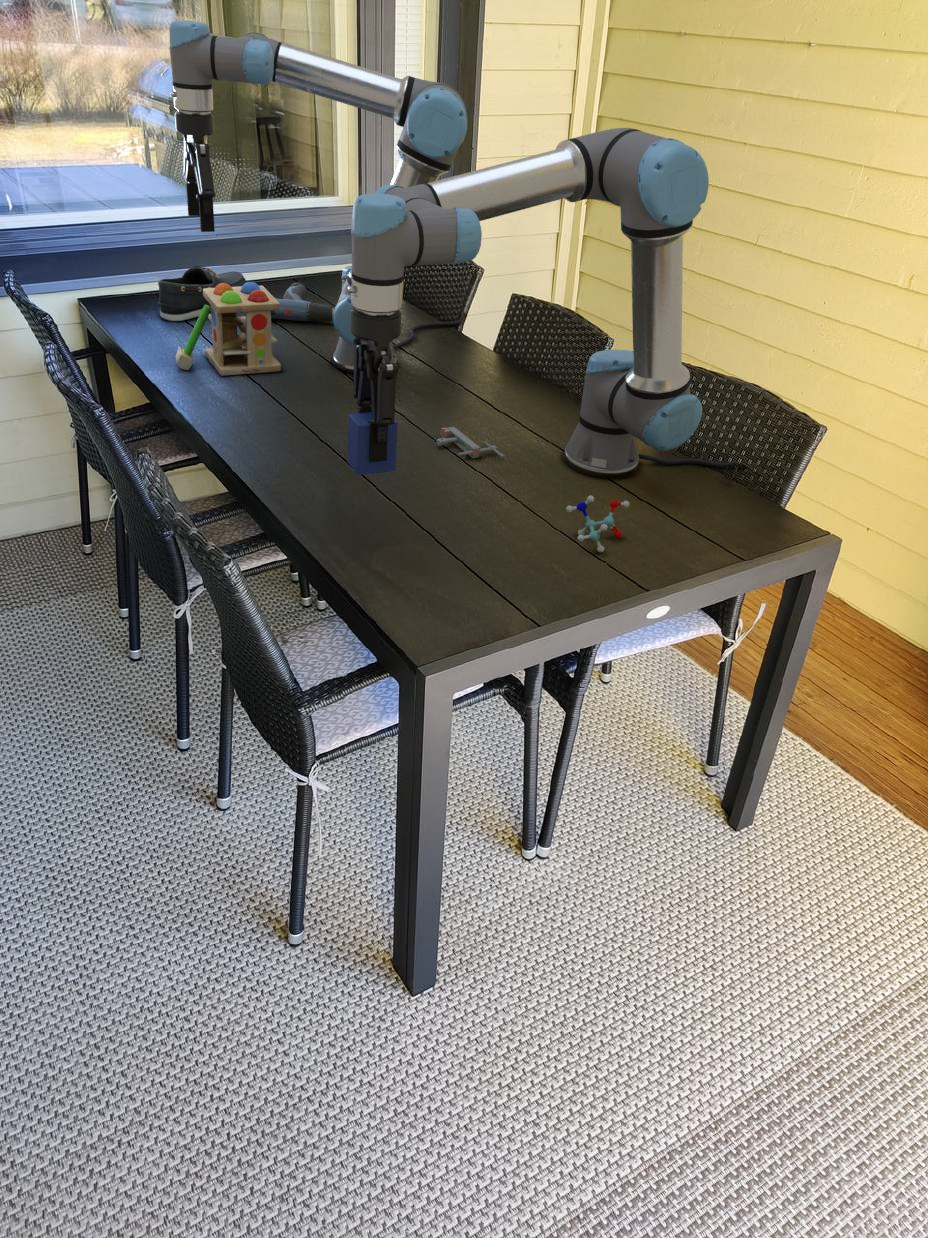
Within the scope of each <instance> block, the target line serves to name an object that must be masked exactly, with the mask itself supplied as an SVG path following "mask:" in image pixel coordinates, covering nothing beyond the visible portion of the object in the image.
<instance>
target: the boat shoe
mask: <svg viewBox="0 0 928 1238" xmlns="http://www.w3.org/2000/svg"><path fill="white" fill-rule="evenodd" d="M221 283H226V284H228V285H230V286H231V287H242V286H243V285H244V284H245V283H247V280H246V278H245V277H244V274H242V273H241V272H239V271H228V272H223V273H222V272H221V273H218V274H216V273H215V272H214V271H213V270H212V269H210V268H207V267H204V266H200V265H194V266H191V267H190V268H188V269H187V270H185V272H184V273H183V274H182V276H181V277H176V278H161V279H158V281H157V285H158V301H157V305H158V306H159V307H160V309H159V312H160V318H162V319H164V320H166V321H170V322H171V321H172V322H181V321H186V320H190V319H191V320H192V319H194V318H197V317H199V316H200V314H201V311H202V309H203V307H204V305H208V306H210V307H211V305H210V304H209V302H208V301H207V300H206V299H205V297H204V296H203V289H204V288H215V287H216V286H217V285H218V284H221ZM210 312H211V310H210Z"/></svg>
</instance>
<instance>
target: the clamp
mask: <svg viewBox="0 0 928 1238" xmlns="http://www.w3.org/2000/svg"><path fill="white" fill-rule="evenodd" d="M452 443H453V444H454V445H456V446H457V447H458V448H459V449H460V450H462V451H463V452H458V453H457V456H458V457H460V456H469V457H470V458H472V459H477V458H480V454H482V453H487V452H488V453H496V454H497V455H498V456H499V457H500V459H502V460H504V459H506V457H507V456H506V454H504V453H501V452H500V451H499V450H498V447H497V446H496V445H495V444H494V445H491V444H490V443H489V442H488V441H486V440H485V441H484V442H483V446H484V447H483V448H481V447H480V446H479V444H476V443H475V442H474V441H473V440H471V439H470V438H469V437H468V436H466V435H465V434H464V433H463V432H461V431H460V430H459V429H457V428H456V427H455V426H450V427H441V429H440V437H439V438H436V444H437V445H438V446H439V447H441V446H448V445H449V444H452Z"/></svg>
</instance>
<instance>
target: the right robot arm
mask: <svg viewBox="0 0 928 1238" xmlns="http://www.w3.org/2000/svg"><path fill="white" fill-rule="evenodd" d="M709 185H710V179H709V172H708V167H707V164H706V162H705V160H704V158H703V157H702V155H701V154H700V153H699V152H698V151H697V150H696V149H695V148H694V147H692V146H690V145H688V144H686V143H684V142H683V141H680V140H679V139H675V138H671V137H663V136H660V135H656V134H652V133H649V132H646V131H643V130H641V129H636V128H632V127H617V128H609V129H605V130H601V131H596V132H591V133H588V134H584V135H579V136H576V137H572V138H567V139H564V140H562V141H560V142H559V143H558V144H557V145H556V147H555V149H553V150H548V151H546V152H542V153H537V154H534V155H529V156H526V157H522V158H519V159H514V160H511V161H507V162H504V163H503V162H502V163H499V164H496V165H492V166H491V165H490V166H488V167H483V168H480V169H477V170H473V171H469V172H465V173H461V174H457V175H454V176H453V175H452V176H449V177H445V178H442V179H437V181H434V182H430V183H425V184H421V185H416V186H412V187H408V188H404V187H401V186H397V185H390V184H385V185H381V187H379V188H377V189H376V190H375V191H374V193H373V192H371V193H364V194H361V195H359V196H357V197H356V198H355V199H354V202H353V207H352V215H351V227H350V234H351V266H352V271H351V272H352V275H351V277H352V280H351V282H352V286H350V287H348V292H349V293H351V304H352V305H353V306H354V307H353V308H352V309H351V321H350V330H351V333H352V334H353V335H354V336H355V337H354V338H353V343H354V374H353V389H352V390H353V393H352V396H353V398H354V399H356V404H357V407H358V411H357V413H366V412H372V421H368V424H369V426H370V441H369V461H370V462H379V461H387V436H388V425H392V424H394V419H395V413H396V408H395V407H396V389H397V386H396V385H397V376H398V370H399V365H398V363H397V362H396V363H391V362H390V361H391V359H392V355H391V349H390V345H389V343H390V342H391V341H392V342H393V341H394V340H396V339H398V338H399V337H400V336H401V333H402V311H400V310H401V309H402V307H403V302H404V301H403V297H404V271H405V267H412V266H413V267H414V266H430V265H456V264H460V263H466V262H467V263H468V262H471V261H473V260H474V259H475V258H476V257H477V256H478V255H479V252H480V250H481V247H482V237H483V232H482V225H481V222H482V221H486V220H490V219H493V218H497V217H502V216H504V215H509V214H511V213H516V212H520V211H523V210H526V209H530V208H533V207H537V206H541V205H545V204H548V203H549V204H550V203H552V202H555V201H560V200H565V201H567V202H569V203H576V202H580V201H584V200H594V201H595V200H597V201H601V202H607V203H610V204H612V205H613V206H614V205H615V206H616V207H619V208H620V230H621V233H622V234H623V235H624V236H625V237H626V238H628V240H630V266H631V267H630V268H631V272H630V273H631V274H630V275H631V311H632V312H631V314H632V316H631V317H632V350H628V349H604V350H600V351H596V352H594V353H593V354H591V355H590V357H589V359H588V362H587V366H586V370H585V372H584V374H585V375H584V382H583V387H582V388H583V389H582V396H581V402H580V408H579V409H580V410H579V417H578V421H577V424H576V427H575V429H574V430H573V433H572V434H571V436H570V438H569V440H568V441H567V443H566V446H565V448H564V454H563V460H564V462H565V463H566V464H567V465H568V466H569V467H570V468H571V469H573V470H574V471H577V472H579V473H581V474H585V475H588V476H592V477H596V478H605V479H607V478H608V479H616V478H617V479H619V478H624V477H629V476H630V475H632V474H634V473H635V472H636V471H637V469H638V468H639V467H638V466H639V461H640V460H644V461H649V462H654V463H657V464H660V465H669V466H670V465H682V464H683V465H684V464H697V465H702V466H708V467H714V468H725V469H726V468H732V467H737V466H738V465H736V464H737V462H736V461H737V460H734V461H729V462H719V461H711V460H705V459H699V458H698V459H697V458H678V459H665V458H659V457H656V456H652V455H649V454H648V455H647V454H643V453H639V448H638V440H639V441H640V442H642V443H643V444H645V445H646V446H649V447H651V448H653V449H655V450H658V451H661V452H666V451H671V450H674V449H677V448H679V447H680V446H682V445H683V444H685V443H686V442H687V441H688V440H689V439H690V438H691V437H692V435H693V434H694V433H695V432H696V430H697V429H698V427H699V425H700V422H701V420H702V416H703V405H702V403H701V401H700V399H698V397H697V396H696V395H694V394H691V374H690V371H689V369H688V368H687V367H686V366H685V365H683V364H682V354H683V280H684V279H683V278H684V275H683V274H684V273H683V272H684V270H683V268H684V236H685V235H686V234H687V233H688V232H689V231H690V230H691V229H692V227H693V225H694V224H693V223H694V219H696V218H697V216H698V215H699V213H700V212H701V210H702V206H701V205H702V204H704V203H705V202H706V200H707V197H708V193H709V187H710V186H709ZM637 439H638V440H637ZM739 466H741V467H743V468H744V469H745V470H751V467H750V466H749V467H750V468H749V467H747V466H745V465H739Z"/></svg>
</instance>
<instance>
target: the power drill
mask: <svg viewBox="0 0 928 1238" xmlns="http://www.w3.org/2000/svg"><path fill="white" fill-rule="evenodd" d="M307 295H308V290H307V287H306V285H304V284H303V283H301V282H293V283H292V284H291V285H290V286H289V287H288V288H287V289H286V291H285V292H284V294H283V297H282V298H275V299H276V300H277V301H278V302H279V303H280V310H271V319H274V320H275V319H276V320H283V321H294V322H295V321H297V322H332V321H334V320H333V312H334V309H335V307H333V306H332V305H331V304H324V303H317V302H313V301H307V300H305V299H306V297H307Z"/></svg>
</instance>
